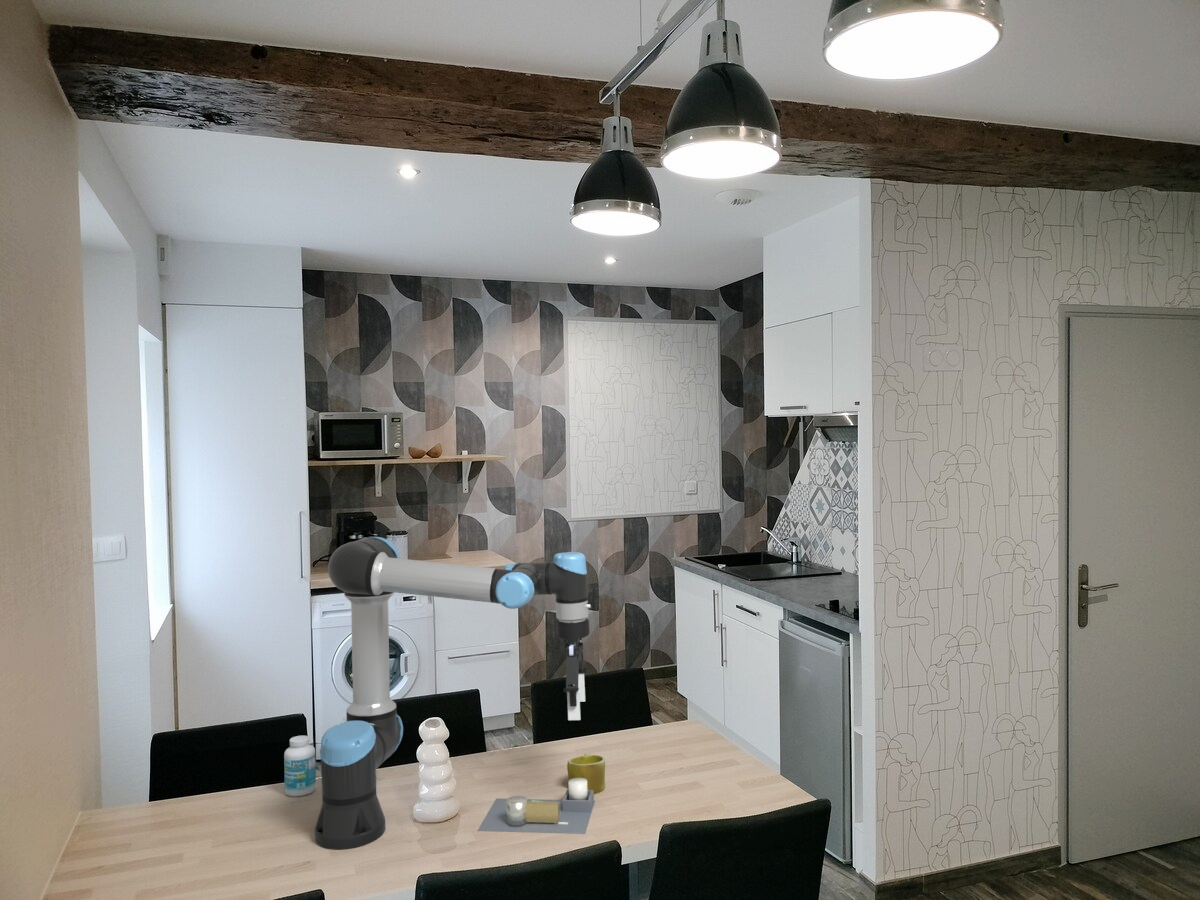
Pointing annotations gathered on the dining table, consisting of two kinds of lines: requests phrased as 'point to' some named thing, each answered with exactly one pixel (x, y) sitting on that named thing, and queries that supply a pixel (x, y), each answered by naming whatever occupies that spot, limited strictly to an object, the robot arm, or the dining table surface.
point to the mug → (588, 771)
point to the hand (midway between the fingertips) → (577, 710)
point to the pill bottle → (299, 767)
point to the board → (570, 822)
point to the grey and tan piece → (531, 811)
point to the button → (578, 789)
